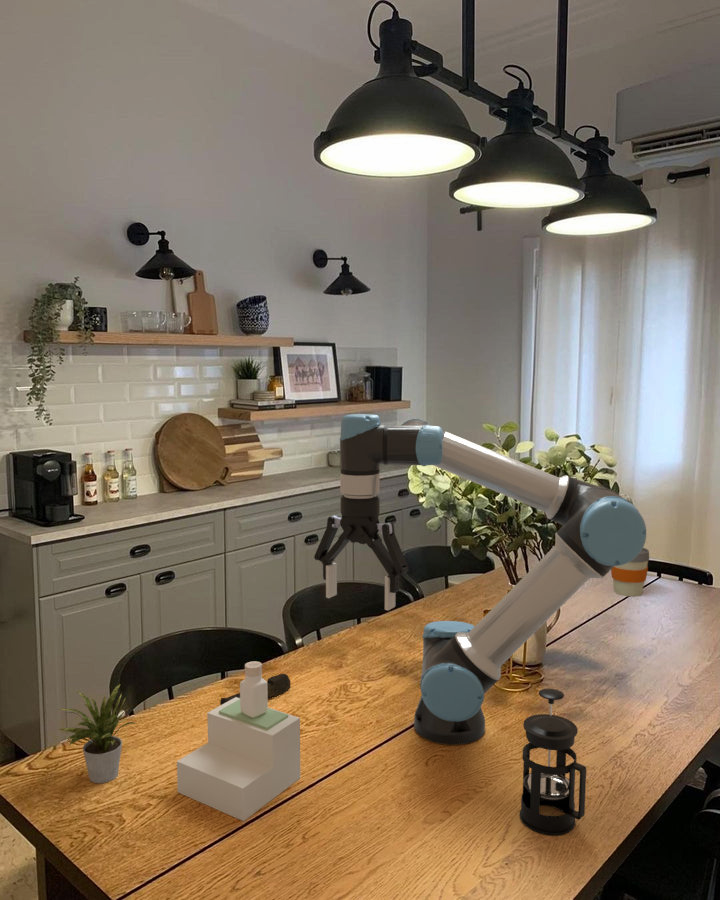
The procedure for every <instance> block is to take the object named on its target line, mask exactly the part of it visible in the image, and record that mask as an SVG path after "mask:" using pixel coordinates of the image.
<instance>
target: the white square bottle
mask: <svg viewBox="0 0 720 900" xmlns="http://www.w3.org/2000/svg"><path fill="white" fill-rule="evenodd" d="M262 675H263V665H262V662H260V661H255V660H254V661H249V662H246V663H244V676H245V678H244V679H243V680H241V681H240V683H239V693H240V710H241V712H242V713H243V714H245V715H247V716H249V717H251V718H255V717H257V716H259V715H261V714H264V713H266V712H267V710H268V708H269V706H268V702H269V701H268V700H269V698H268V692H267V681H268V680H267V681H266V680H265V679H264V678H263V676H262Z"/></svg>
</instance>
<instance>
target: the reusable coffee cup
mask: <svg viewBox="0 0 720 900" xmlns="http://www.w3.org/2000/svg"><path fill="white" fill-rule="evenodd" d="M649 560H650V552H649V549H647V548H645V547H643V549H642V550H641V552H640V553H639V555H638V556H637V557H636V558H635V559H633V560H632V561H630V562H628V563H626V564H623V565H619V566H614V567H613V568H612V569H611V570H610V572H611V573H610V574H611V578H612V581H613V592H614V593H615V594H617V595H620V596H624V597H630V598H631V597H640V596H642V595H643V589H644V586H645V581H646V580H647V575H648V570H649V566H648V563H649Z"/></svg>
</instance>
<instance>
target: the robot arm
mask: <svg viewBox="0 0 720 900" xmlns="http://www.w3.org/2000/svg"><path fill="white" fill-rule="evenodd" d="M339 446H340V447H339V452H340V453H339V455H340V476H339V478H340V479H339V480H340V484H339V485H340V486H339V487H340V490H339V491H340V493H341V494H342V495H341V496H340V514H341V517H340V515H338V514H334V515H331V516H328V518H327V520H326V521H327V522H326V528H325V531H324V533H323V535H322V538H321V539H320V543H319V544H318V546H317V548H316V552H315V554H314V556H313V558H314V560H315V561H319V562H321V564H322V578H323V580H325V598H327V599H331V598H332V597H335V596H337V595H338V589H337V588H338V575H337V574H338V569H337V567H338V562H337V563H336V562H335V561H336V560H335V559H336V558H337V557H338V556H339V555H340V553H341V552H342V551H343V549H344V548H345V547H346V546H347V544H348V543H353V544H355V543H357V544H360V545H366V546H368V548H369V549H371V550H372V551H373V553H374V554H375V556H376V558H377V560H378V561H379V562H380V564H381V565H382V567H383V568H384V570H385V572H386V573H387V575H385V576H384V610H385V611H390V610H391V609H394V608H395V607H396V594H397V592H399V590H400V576H401V575H403V574H405V573H408V572H409V571H410V569H409V565H408V564H407V561H406V558H405V556H404V553H403V551H402V549H401V547H400V544H399V542H398V539H397V536H396V533H395V524H394V523H393V522H392V521H390V522H387V523H381V522H380V520H379V516H380V509H381V508H380V504H381V503H380V502H381V501H380V499H381V498H380V497H379V495H378V494H380V467H381V465H383V466H386V465H397V466H421V467H426V466H433V467H436V468H439V469H441V470H443V471H445V472H448V473H450V474H453V475H455V476H458V477H460V478H462V479H465V480H467V481H470V482H471V483H475V484H477V485H479V486H482V487H484V488H487V489H489V490H491V491H494V492H496V493H498V494H501V495H504V496H506V497H508V498H511V499H513V500H514V501H517V502H520V503H522V504H525V505H527V506H529V507H532V508H535V509H537V510H538V511H541V512H544V514H545V516H546V518H547V519H548V520H550V521H553V522H555V523H557V524H559V525H561V527H560V528H559V530H557V531H556V532H555V537H554V539H555V544H554V546H553V547H552V548H551V549H550V550H549V551H548V552H547V553H546V554H545V555H544V556H543V557H542V558H541V559H540V560H538V562H537V563H536V564H535V565H534V566H533V567H532V568H531V569H530V570H529V571H528V572H527V573H526V574H525V575H524V576H523V577H522V578H521V579H520V580H519V581H518V582H517V583H516V584H515V585H514V586H513V587H512V589H510V591H508V592H507V593H506V594H505V596H503V597H502V599H500V601H499V602H497V603H496V605H494V607H492V608H491V610H490V611H488V613H486V614H485V616H484V617H482V618H481V619H480V621H478V622H477V623H476V624H475V625H474V624H472V623H469V622H463V621H457V620H455V621H454V620H440V621H439V620H438V621H431V622H429V623H427V624H425V626H424V628H423V633H422V634H423V635H422V636H421V637H422V639H423V640H422V641H423V644H422V645H423V646H422V666H421V675H420V683H419V686H420V687H419V688H420V694H421V696H420V698H419V702H418V704H417V707H416V710H415V713H414V718H413V719H414V721H413V728H414V730H415V731H416V734H418V736H420V737H421V738H423V739H425V740H427V741H430V742H433V743H437V744H440V745H447V746H449V745H450V746H457V745H458V746H459V745H468V744H470V743H473V742H476V741H478V740H479V739H481V738H483V736H484V735H485V732H486V720H485V719H486V718H485V715H484V712H483V709H482V705H483V703H484V700H485V694H486V693H487V692H488V691H489V690H490V689H491V688H492V687H493V686H494V685H495V684H496V683H498V681H499V680H500V679H501V678H502V675H501V669H502V668H501V667H502V666H503V664H505V663H506V662H507V661H508V660H509V659H510V658H511V656H513V655H514V654H515V652H517V651H518V650H519V649H520V648H521V647H522V646H523V645H524V644H525V643H526V642H527V641H528V640H529V639H530V638H531V637H532V636H533V635H534V634H535V633H536V632H537V631H538V630H539V629H540V628H541V627H542V626H543V625H544V624H545V623H547V621H548V620H549V619H550V618H551V617H552V616H553V615H554V614H555V613H557V611H558V610H560V608H562V606H564V604H566V602H567V601H569V600H570V599H571V598H572V597H573V596H574V594H575V593H577V592H578V591H579V590H580V589H581V588H582V587H583V586H584V585H585V584H586V583H587V582H588V581H589V580H590V579H603V578H604V577H605V576H606V575H607V574H608V573H609V572H611V569H612V568H613V567H614V566H619V565H623V564H626V563H628V562H630V561H632V560H633V559H635V558H636V557H637V556H638V555H639V553H640V552H641V550H642V549H643V548H645V543H646V540H647V526H646V523H645V520H644V517H643V516H642V514H641V513H640V512H639V509H637V507H636V506H635V505H634V504H633V503H631V501H629V500H627V499H626V498H624V497H622V495H620V494H619V493H617V492H616V491H614V490H612V489H610V488H607V487H603V486H601V485H597V484H592V483H589V482H586V481H583V480H579V479H576V478H574V477H572V476H569V475H566V474H565V475H562V476H560V477H558V476H556V475H554V474H550V473H548V472H546V471H544V470H542V469H539V468H536V467H534V466H532V465H529V464H526V463H524V462H522V461H520V460H517V459H515V458H512V457H509V456H507V455H504V454H502V453H500V452H498V451H495V450H492V449H490V448H488V447H485V446H482V445H479V444H478V443H476V442H472V441H470V440H468V439H465V438H463V437H461V436H458V435H455V434H453V433H451V432H448V431H445V430H443V428H442V427H441V426H438V425H431V424H430V423H428V422H427V421H425V420H424V419H420V418H412V419H408V420H406V421H404V422H403V423H402V424H401V425H400V424H399V425H387V424H386V425H385V424H381V420H380V416H379V414H378V415H377V414H372V413H371V414H367V413H352V414H351V413H350V414H346V415H344V416H343V417H342V418H341V421H340V437H339ZM340 527H341V529H342V531H343V532H341V534H340V535H339V536H338V538H337V541H336V542H335V543H334V544H333V545H332V543H333V542H334V538H335V536H336V535H337V533H338V530H339V528H340ZM379 531H380V532H379ZM380 535H382V538H383V539H382V538H381V536H380ZM383 541H384V543H383ZM384 544H385V545H384ZM331 545H332V547H331Z"/></svg>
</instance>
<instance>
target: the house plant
mask: <svg viewBox="0 0 720 900" xmlns="http://www.w3.org/2000/svg"><path fill="white" fill-rule="evenodd" d="M120 686H121V683H118V685H116V686H115V688H114V689H113V691H112V692H111V694H110V696H109V697H108V699H107V701H106V696H104V697H103V698H102V702H101V706H100V712H99V709H98V705H97V702H96V700H95V699H93V697H90V696H86V695H85V694H84V693H82V692H80V691H77V693H78V694H79V695H80V696H81V697H82V698H83V700H84V701H85V703H84V706H86V707H87V708H88V711H89V713H90V714H91V717H92V718H93V720H92V719H91V718H90V717H89V716H87V715H86V714H85V713H83V712H82V711H80V710H79V709H75V708H60V709H57V710H59V711H60V710H61V711H67V712H66V714H69V713H70V714H75V715H77V716H79V719H81V720H82V721H81V722H78V724H77V726H83V727H84V726H85V727H86V728H83V727H82V728H81V727H65V728H59V729H58V730H60V731H64V732H66V733H70V734H71V733H72V735H70V737H69V738H67V741H69V740H70V742H69V744H68V747H70V746H71V745H73V744H74V743H76V742H78V741H79V740H82V739H83V740H86V741H87V742H85V744H84V745H83V746H82V751H83V756H84V760H85V764H86V770H87V773H88V778H89V781H91V782H92V783H94V784H105V782H106V783H108V782H112V781H114V780H115V779H116V778H117V777H118V775H119V767H120V760H121V755H122V748H123V747H122V746H123V740H122V739H121V738H120V737H118V736H115V735H116V733H117V732H118V731H119V730H120V729H122V728H124V727H125V726H127V725H130V724H135V725H136V723H135V722H134V721H128V722H126V723H124V724H123V725H120V726H119V728H118V729H117V730H116V731H115V729H116V728H117V726H118V725H119V723H120V722H119V721H120V718H121V717H122V716H123V715H124V714H125V712H127V711H128V710H129V709H130V707H129V708H127V709H126V710H124V711H123V712H122V713H121V714H120V712H121V710H122V708H123V707H124V706H123V705H124V703H125V701H126V699H127V696H125V697H124V699H123V701H122V702H121V704H120V701H121V698H122V696H123V695H122V692H121V693H120V695H119V697H118V698H117V701H116V703H115V706H114V708H113V705H114V702H115V699H116V696H117V694H118V692H119V688H120ZM91 702H92V703H91ZM92 704H93V705H92ZM119 704H120V706H119ZM93 707H94V708H93ZM117 709H118V710H117ZM79 714H80V715H79ZM74 719H77V717H75V718H74ZM111 780H112V781H111Z"/></svg>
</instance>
